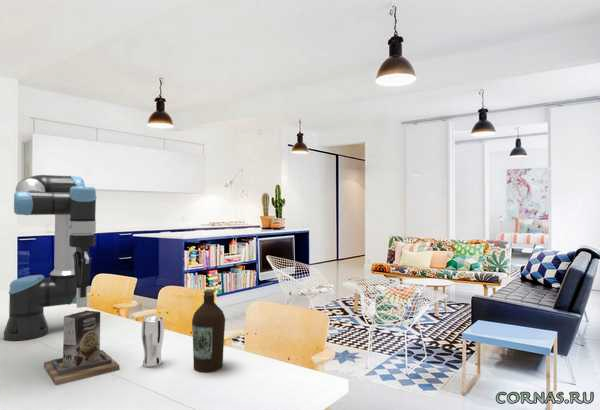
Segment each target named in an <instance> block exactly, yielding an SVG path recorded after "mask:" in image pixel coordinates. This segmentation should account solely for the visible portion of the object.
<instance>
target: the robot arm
mask: <svg viewBox="0 0 600 410" xmlns="http://www.w3.org/2000/svg"><path fill="white" fill-rule="evenodd" d="M96 190H97V189H96V188H95V187H94V186H86V184H85V181H84V179H83V178H82V177H80V176H77V175H76V176H74V175H73V176H72V175H53V174H52V175H50V174H38V175H31V176H28V177H26V178H24V179H22V180H20V181H19V182H18V183H17V185H16V186H15V192H14V194H13V213H14V214H15V215H19V216H20V215H21V216H41V215H45V216H47V215H50V216H51V215H52V216H53V215H54V258H53V259H54V264H53V265H54V269H53V270H52V271H51V272H50V273H49V277H46V278H45V275H43V274H35V275H34V274H33V275H28V276H23V277H19V278H17V279H14V280H12V281H11V282H10V284H9V291H8V294H9V300H8V301H9V305H8V306H9V307H8V308H9V309H8V314H9V315H8V320H7V322H6V325H5V329H3V330H4V331H3V339H4V340H6V341H25V340H26V341H27V340H33V339H37V338H40V337H43V336H46V335H47V334H48V333H49V325H48V322H47V320H46V317H45V314H44V313H45V311H44V308H48V307H56V306H66V305H68V306H69V305H73V304H76V308H77V309H80V308H87V307H88V286H90V282H91V281H90V279H91V278H90V277H91V267H92V260H93V258H92V257H91V251H90V249H89V248H90V247H95V246H96V235H95V233H96V232H97V230H96V227H97V225H96V224H97V221H96V208H97V206H96V203H97V202H96V201H97V191H96Z"/></svg>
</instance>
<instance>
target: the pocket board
mask: <svg viewBox="0 0 600 410" xmlns="http://www.w3.org/2000/svg"><path fill="white" fill-rule="evenodd" d="M43 367H44V369H45V371H46V373H47V374H48V375H49V377H50V378H51V380H52V382H53V383H54V385H55V386H58V385H62V384H66V383H71V382H74V381H80V380H83V379H87V378H91V377H97V376H100V375H103V374H108V373H112V372H115V371H116V372H117V371H119V370H120V364H119V363H118V362H117V361H116V360H114V359H113V358H112V356H111V355H109V354H108V353H107V352H105V351H104V350H103V349H100V360H98V361H96V362H94V363H90V364H86V365H81V366H77V367H72V368H68V367H63V357H59V358H55V359H50V360H47V361H43Z"/></svg>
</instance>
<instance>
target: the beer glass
mask: <svg viewBox="0 0 600 410" xmlns="http://www.w3.org/2000/svg"><path fill="white" fill-rule="evenodd" d="M164 325H165V324H164V317H162V316H149V317H144V318H143V319H142V323H141V342H142V346H143V360H142V366H143V367H144V368H157V367H158V366H161V365H162V363H163V360H162V347H163V341H164V333H165V332H164V331H165V330H164V329H165V327H164Z"/></svg>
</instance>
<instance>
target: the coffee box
mask: <svg viewBox="0 0 600 410" xmlns="http://www.w3.org/2000/svg"><path fill="white" fill-rule="evenodd" d="M62 343H63V345H62V346H63V347H62V351H63V352H62V358H63V367H68V368H72V367H77V366H81V365H86V364H90V363H94V362H96V361H98V360H100V350H101V311H96V310H95V311H94V310H84V311H79V312H75V313H72V314H68V315H65V316H63V342H62Z"/></svg>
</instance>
